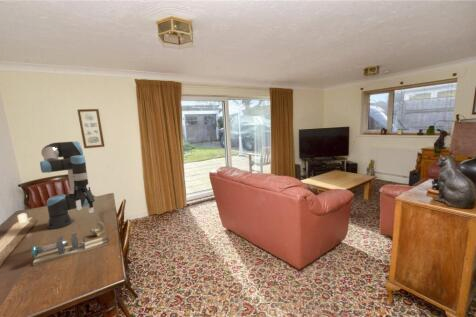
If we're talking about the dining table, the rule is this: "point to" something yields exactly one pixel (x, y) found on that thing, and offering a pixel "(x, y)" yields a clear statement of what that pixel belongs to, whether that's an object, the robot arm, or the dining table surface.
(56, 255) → the board
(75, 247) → the grey angular blocks
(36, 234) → the dining table surface
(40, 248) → the shaft
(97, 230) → the bone
